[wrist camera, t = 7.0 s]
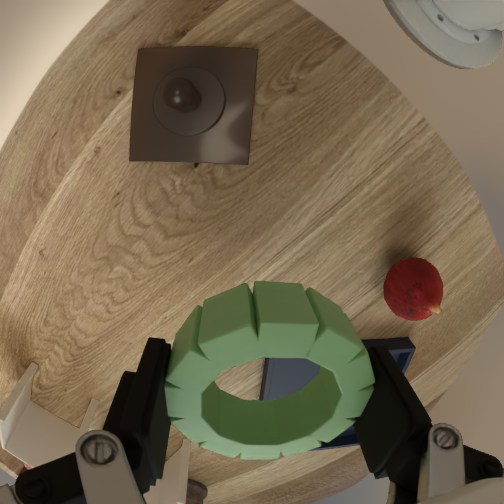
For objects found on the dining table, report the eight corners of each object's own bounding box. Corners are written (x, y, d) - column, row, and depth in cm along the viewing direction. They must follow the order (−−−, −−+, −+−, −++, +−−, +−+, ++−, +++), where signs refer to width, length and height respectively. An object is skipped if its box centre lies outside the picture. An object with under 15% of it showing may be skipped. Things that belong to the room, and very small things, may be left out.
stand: (257, 50, 21) (265, 21, 15) (247, 164, 25) (252, 174, 18) (139, 50, 21) (109, 25, 14) (131, 160, 24) (97, 170, 18)
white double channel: (28, 399, 35) (2, 448, 25) (32, 361, 32) (-4, 416, 22) (164, 466, 41) (157, 519, 30) (191, 440, 38) (185, 504, 27)
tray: (408, 337, 33) (416, 347, 31) (362, 433, 40) (366, 443, 37) (267, 340, 31) (269, 354, 29) (252, 441, 38) (253, 453, 36)
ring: (372, 286, 10) (403, 323, 8) (327, 414, 13) (340, 454, 10) (172, 273, 10) (156, 313, 7) (178, 411, 12) (172, 454, 10)
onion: (374, 304, 31) (407, 350, 23) (368, 256, 29) (406, 295, 21) (420, 286, 30) (459, 325, 23) (417, 239, 28) (463, 271, 21)
